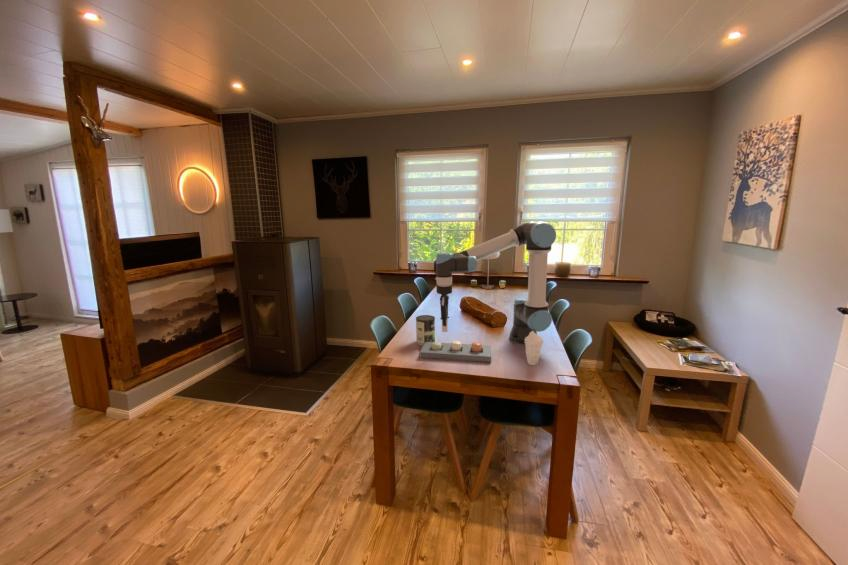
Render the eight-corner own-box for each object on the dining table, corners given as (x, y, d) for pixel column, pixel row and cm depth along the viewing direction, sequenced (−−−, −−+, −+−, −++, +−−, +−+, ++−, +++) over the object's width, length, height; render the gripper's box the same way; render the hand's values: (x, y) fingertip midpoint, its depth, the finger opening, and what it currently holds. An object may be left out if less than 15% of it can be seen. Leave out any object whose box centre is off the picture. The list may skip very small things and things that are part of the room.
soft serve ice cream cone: (538, 359, 165) (539, 327, 162) (544, 367, 157) (546, 333, 153) (520, 360, 164) (522, 328, 161) (526, 367, 156) (528, 334, 153)
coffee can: (436, 339, 192) (436, 315, 190) (433, 346, 182) (433, 321, 180) (418, 338, 194) (418, 314, 192) (414, 345, 184) (413, 320, 182)
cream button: (461, 348, 173) (461, 341, 172) (460, 352, 168) (461, 344, 168) (451, 348, 174) (451, 340, 173) (450, 351, 169) (450, 344, 169)
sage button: (441, 349, 175) (441, 342, 174) (440, 353, 170) (440, 345, 170) (432, 349, 176) (432, 341, 175) (430, 352, 171) (430, 345, 171)
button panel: (490, 351, 175) (490, 345, 175) (491, 362, 162) (491, 356, 161) (425, 347, 181) (425, 341, 181) (420, 358, 168) (420, 352, 167)
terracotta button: (481, 349, 171) (481, 342, 171) (481, 353, 167) (481, 346, 166) (471, 349, 172) (471, 341, 172) (471, 353, 168) (471, 345, 167)
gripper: (438, 282, 173) (439, 326, 178) (434, 287, 160) (435, 335, 165) (453, 282, 171) (453, 327, 176) (450, 288, 159) (450, 336, 164)
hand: (444, 331), depth 171 cm, fingers closed
